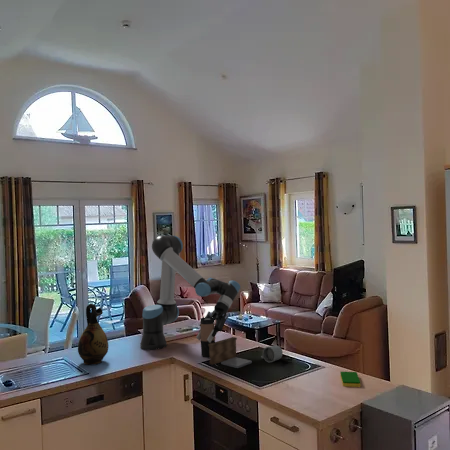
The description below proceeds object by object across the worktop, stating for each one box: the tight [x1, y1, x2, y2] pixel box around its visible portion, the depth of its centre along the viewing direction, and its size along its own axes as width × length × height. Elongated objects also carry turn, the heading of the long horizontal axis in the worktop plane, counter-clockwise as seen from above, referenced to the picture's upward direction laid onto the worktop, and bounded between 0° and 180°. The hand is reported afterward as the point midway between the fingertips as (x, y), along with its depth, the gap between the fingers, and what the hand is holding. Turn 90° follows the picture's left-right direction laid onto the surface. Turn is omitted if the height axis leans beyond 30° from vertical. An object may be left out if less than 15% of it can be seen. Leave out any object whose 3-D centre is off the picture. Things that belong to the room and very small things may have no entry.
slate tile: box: [220, 356, 253, 369], centre depth 225 cm, size 11×11×1 cm
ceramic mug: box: [260, 345, 284, 363], centre depth 230 cm, size 11×8×8 cm
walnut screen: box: [208, 336, 238, 366], centre depth 231 cm, size 19×3×10 cm, turn 137°
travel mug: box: [199, 317, 216, 359], centre depth 240 cm, size 8×8×20 cm
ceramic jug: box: [77, 303, 109, 366], centre depth 234 cm, size 17×15×30 cm
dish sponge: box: [340, 371, 361, 388], centre depth 195 cm, size 7×14×2 cm, turn 170°
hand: (203, 340), depth 238 cm, fingers closed on travel mug, 7 cm apart
